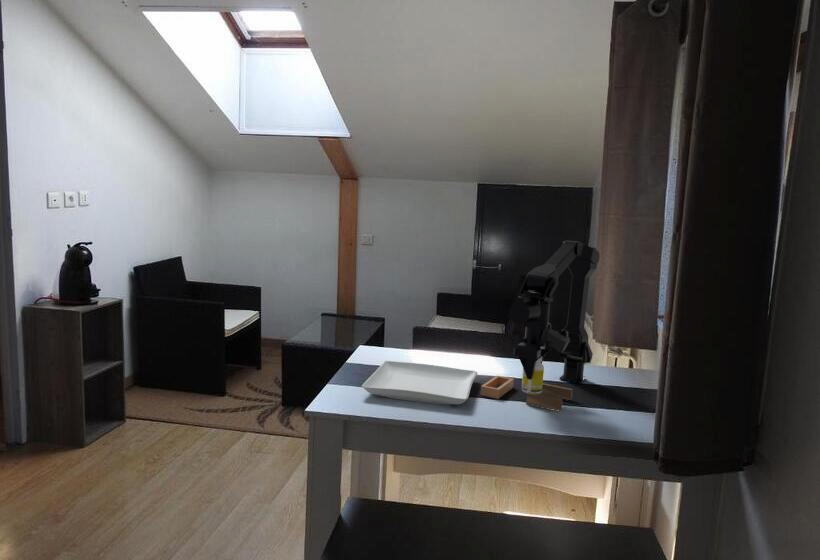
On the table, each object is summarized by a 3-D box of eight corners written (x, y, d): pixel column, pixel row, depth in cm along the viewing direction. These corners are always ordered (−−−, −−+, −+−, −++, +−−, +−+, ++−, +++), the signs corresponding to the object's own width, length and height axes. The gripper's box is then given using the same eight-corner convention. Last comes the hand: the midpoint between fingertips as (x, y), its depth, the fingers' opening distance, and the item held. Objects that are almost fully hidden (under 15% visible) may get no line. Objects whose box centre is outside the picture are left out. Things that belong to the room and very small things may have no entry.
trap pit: (496, 384, 183) (496, 375, 182) (513, 387, 180) (513, 378, 180) (480, 395, 172) (481, 386, 172) (498, 398, 170) (498, 389, 169)
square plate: (466, 413, 159) (467, 397, 158) (359, 399, 164) (360, 385, 164) (477, 381, 185) (478, 368, 185) (384, 371, 190) (385, 358, 190)
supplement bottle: (544, 391, 173) (547, 355, 171) (537, 396, 168) (541, 359, 167) (525, 386, 175) (528, 351, 174) (518, 391, 171) (521, 355, 169)
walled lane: (538, 393, 177) (539, 382, 176) (571, 399, 173) (572, 389, 172) (525, 404, 167) (526, 393, 166) (560, 411, 163) (561, 400, 162)
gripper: (558, 330, 157) (553, 391, 159) (576, 317, 173) (571, 374, 176) (514, 323, 162) (510, 383, 164) (536, 312, 178) (531, 366, 181)
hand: (532, 376), depth 171 cm, fingers closed on supplement bottle, 5 cm apart
